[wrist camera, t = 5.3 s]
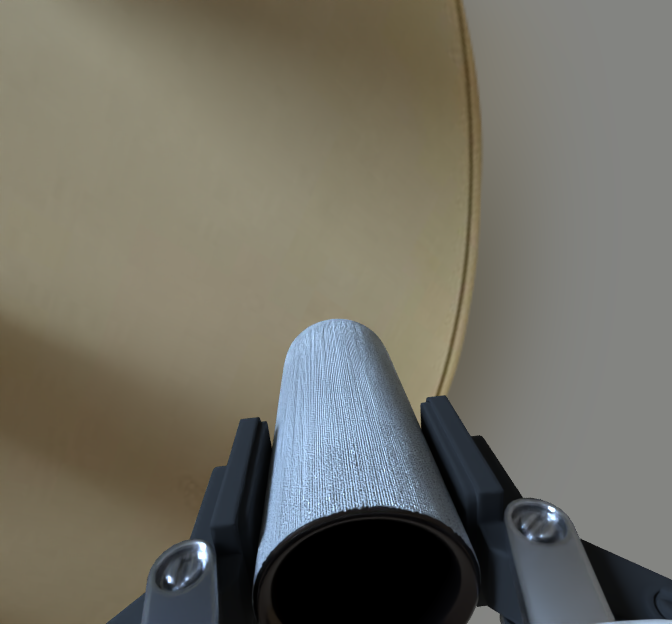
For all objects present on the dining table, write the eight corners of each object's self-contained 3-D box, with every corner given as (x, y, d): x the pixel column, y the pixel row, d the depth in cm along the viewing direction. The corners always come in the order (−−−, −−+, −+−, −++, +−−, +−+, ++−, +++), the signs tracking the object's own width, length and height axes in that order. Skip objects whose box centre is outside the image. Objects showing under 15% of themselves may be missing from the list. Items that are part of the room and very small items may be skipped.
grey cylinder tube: (297, 306, 17) (278, 490, 7) (401, 330, 17) (520, 530, 8) (274, 401, 18) (231, 667, 8) (371, 420, 19) (439, 689, 9)
